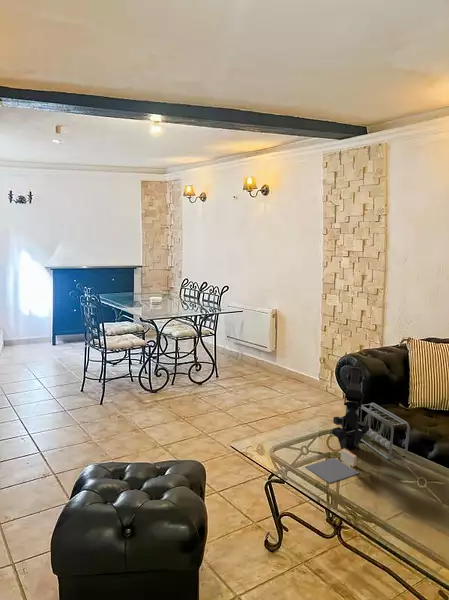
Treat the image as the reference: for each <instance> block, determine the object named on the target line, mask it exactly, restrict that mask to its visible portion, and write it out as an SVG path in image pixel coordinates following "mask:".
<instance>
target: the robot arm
mask: <svg viewBox="0 0 449 600" xmlns="http://www.w3.org/2000/svg"><path fill="white" fill-rule="evenodd" d="M346 370H347V371H346V377H347V381H348V384H349V385H347V386H346V389H347V390H345V392H344V401H343V402H344V403H343V405H344V406H346V407H345V415H343V416H334V417H333V418H332V421H333V424H334V425H335V426H338V427H333V428H331V429H332V430H331V435H333V436H335V437H336V438H337V440H338V443H339V446H340V449H341V450H342V449H345V448H346V450H347V449H348V451H349V450H350V451H351V450H354V449H358V448H359V443H360V442H361V439H362V440H363V438H364V436H366V435H365V434H366V433H367V431H369V425H368V423H365V422H363V421H362V420H361V418H360V417H359V414H360V413H359V412H360V409H361V405H363V406H364V392H362V387H361V384H362V383H363V379H365V371H366V370H364V369H362V368H361V367H355V366H351V367H348V368H347V369H346ZM359 407H360V408H359ZM360 420H361V421H360ZM339 425H340V426H341V427H342V428H341V427H340V426H339Z"/></svg>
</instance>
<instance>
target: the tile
mask: <svg viewBox="0 0 449 600" xmlns="http://www.w3.org/2000/svg"><path fill="white" fill-rule="evenodd" d="M340 461H341V462H342V461H343V463H345V464H346V465H348V466H350V467H351V468H354V467H356V465H357V455H356V454H354V453H352V452H351V451H349V450H347V449H345V448H344V449H341V450H340Z"/></svg>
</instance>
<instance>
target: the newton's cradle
mask: <svg viewBox="0 0 449 600" xmlns="http://www.w3.org/2000/svg"><path fill="white" fill-rule="evenodd" d="M366 406H369V408H367V407H366ZM373 408H374V411H373ZM359 409H361V410H363V411H364V412H366V413H367V414H368V418H367V424H368V425H369V431H367V433H366V434H367V435H366V436H370V438H371V439H373V440H375V441H376V442H377V443H379V444H380V445H381V446H383V447H385V448H386V449H387V450H388V456H387V455H386V454H384V453H383V452H381V451H380V450H378V449H377V448H375V447H374V446H372V444H370V443H368V442H367V441H366V440H364V439H363V438H362V439H361V441H362V443H363V442H364V443H365V444H364V443H363V444H364V445H366V446H367V445H368V446H369V447H368V446H367V447H368V448H370V447H371V448H372V449H371V448H370V449H371V450H373V449H374V450H375V451H376V452H375V451H374V450H373V451H374V452H375V453H377V452H378V453H379V454H378V453H377V454H378V455H380V456H381V455H382V456H383V457H382V456H381V457H382V458H384V457H385V458H386V459H385V458H384V459H385V460H387V459H388V460H387V461H389V460H391V459H392V458H391V457H392V454H393V452H392V451H393V450H392V448H394V444H393V443H394V441H393V440H394V432H395V431H394V430H395V429H394V428H395V426H399V425H404V424H405V425H406V436H405V437H406V438H405V448H404V454H405V455H407V456H408V447H409V439H410V438H409V437H410V431H411V426H410V424H409V422H407V421H406V420H404V419H402V418H401V417H399V416H397V415H395V414H394V413H392V412H391V411H389V410H386V409H385V408H384V407H382V406H380V405H378V404H377V403H375V402H371V403H367V404H366V403H365V404H363V405H361V408H360V407H359ZM376 409H377V410H378V411H379V412H382V413H383V414H384V416H383V417H382V416H381V413H378V414H377V413H376ZM386 415H387V416H388V417H389V418H393V420H394V423H392V422H390V421H391V419H388V420H387V419H386ZM371 418H372V419H371ZM374 418H376V419H377V422H376V424H379V421H380V422H382V425H381V427H380V428H381V429H380V430H379V428H378V425H376V426H375V425H374V422H372V421H374ZM396 421H397V422H398V423H396ZM384 424H385V425H387V426H386V433H384V432H382V431H383V427H384ZM372 425H373V428H377V429H374V430H373V429H372V428H371V427H372ZM389 428H390V437H389V434H388V430H389ZM377 430H378V431H377ZM381 432H382V435H383V436H382V435H381ZM387 435H388V437H387V438H388V439H387V438H386V436H387ZM361 441H360V442H361Z"/></svg>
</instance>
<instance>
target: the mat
mask: <svg viewBox="0 0 449 600" xmlns="http://www.w3.org/2000/svg"><path fill="white" fill-rule="evenodd" d="M304 468H305V469H306V470H309V471H310V472H311V473H313V474H314V475H316V476H317V477H319V478H320V479H322V480H323V481H325V482H326V483H327V484H332V483H335V482H339V481H341V480H345V479H347V478H350V477H351V478H352V477H353V476H356V475H360V472H359V471H357V470H356V469H354V468H353V467H352V466H350V465H348V464H347V463H345V462H342V460H340V459H337V458H336V457H333V458H332V457H331V458H328V459H325V460H322V461H318V462H315V463H312V464H309V465H305V466H304Z"/></svg>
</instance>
